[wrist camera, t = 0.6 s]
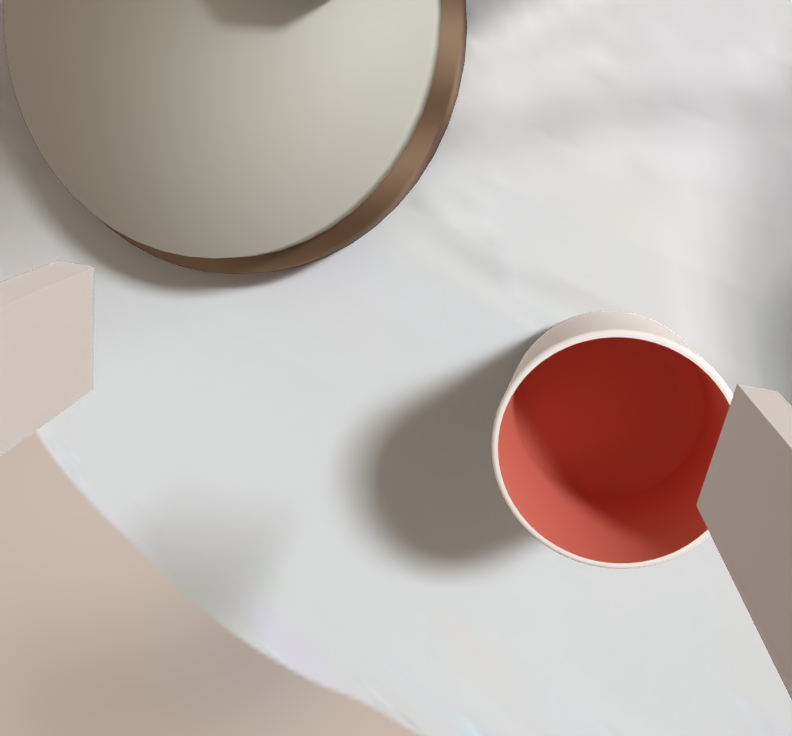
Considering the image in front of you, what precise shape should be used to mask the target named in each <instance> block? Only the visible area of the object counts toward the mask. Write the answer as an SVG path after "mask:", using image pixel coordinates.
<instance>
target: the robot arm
mask: <svg viewBox="0 0 792 736" xmlns="http://www.w3.org/2000/svg"><path fill="white" fill-rule="evenodd" d="M93 339H94V267H93V266H87V265H82V264H76V263H71V262H65V261H60V260H58V261H55V262H53V263H50V264H47V265H45V266H42V267H39V268H37V269H34V270H31V271H29V272H26V273H24V274H21V275H18V276H16V277H13V278H10V279H8V280H5V281H2V282H0V457H1V456H2V455H3V454H5V453H6V452H8V451H9V450H10V449H12V448H13V447H14V446H16V445H17V444H18V443H20V442H21V441H23V440H24V439H25V438H27V437H28V436H29V435H31V434H32V433H34V432H35V431H36V430H38V429H39V428H40V427H42V426H43V425H45V424H46V423H47V422H49V421H50V420H51V419H53V418H54V417H55V416H57V415H58V414H60V413H61V412H62V411H64V410H65V409H66V408H68V407H69V406H71V405H72V404H73V403H75V402H76V401H77V400H79V399H80V398H81V397H83V396H84V395H86V394H87V393H88V392H90V391H91V390H92V389H93ZM696 506H697V508H698V510H699V512H700V514H701V516H702V518H703V520H704V522H705V524H706V526H707V528H708V530H709V532H710V534H711V536H712V538H713V540H714V543H715V545H716V547H717V549H718V551H719V553H720V555H721V557H722V559H723V561H724V563H725V565H726V567H727V569H728V571H729V573H730V575H731V577H732V579H733V581H734V583H735V585H736V587H737V589H738V591H739V593H740V595H741V597H742V599H743V602H744V604H745V606H746V608H747V610H748V612H749V614H750V616H751V618H752V620H753V622H754V624H755V626H756V628H757V630H758V632H759V634H760V636H761V638H762V640H763V642H764V644H765V646H766V648H767V650H768V652H769V654H770V656H771V658H772V661H773V663H774V665H775V667H776V669H777V671H778V673H779V675H780V677H781V679H782V681H783V683H784V685H785V687H786V689H787V691H788V693H789V695H790V697H791V699H792V406H791V405H790V404H789V403H788V402H787V401H786V400H785V399H784V398H783V397H782V396H781V395H780V394H779V393H778V392H777V391H774V390H768V389H763V388H757V387H752V386H746V385H741V384H737V386H736V389H735V392H734V395H733V398H732V401H731V404H730V407H729V410H728V413H727V416H726V419H725V422H724V425H723V428H722V431H721V433H720V436H719V439H718V442H717V445H716V448H715V451H714V454H713V457H712V460H711V463H710V466H709V469H708V472H707V475H706V478H705V481H704V484H703V487H702V489H701V492H700V495H699V498H698V501H697V504H696Z"/></svg>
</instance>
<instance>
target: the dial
mask: <svg viewBox="0 0 792 736" xmlns="http://www.w3.org/2000/svg"><path fill="white" fill-rule="evenodd" d="M3 14H4V39H5V47H6V54H7V61H8V68H9V72H10V76H11V80H12V84H13V88H14V92H15V96H16V99H17V102H18V104H19V107H20V110H21V113H22V115H23V118H24V121H25V123H26V125H27V127H28V130H29V132H30V134H31V136H32V138H33V140H34V142H35V144H36V146H37V148H38V150H39V151H40V153H41V154H42V156H43V157H44V159H45V160H46V162H47V163H48V165H49V167H50V168H51V170H52V171H53V173H54V174H55V175H56V176H57V178H58V179H59V180H60V181H61V182H62V184H63V185H64V186H65V187H66V188H67V190H68V191H69V192H70V193H71V194H72V195H73V196H74V197H75V198H76V199H77V200H78V201H79V202H80V203H81V204H82V205H83V206H84V207H85V208H87V209H88V210H89V211H90V212H91V213H92V214H93V215H95V216H96V217H98V218H99V219H100V220H102V221H103V222H104V223H106V224H107V225H109V226H110V227H111V228H113V229H114V230H116V231H118V232H120V233H122V234H124V235H126V236H127V237H129V238H131V239H133V240H135V241H137V242H139V243H142V244H145V245H147V246H150V247H153V248H155V249H158V250H161V251H165V252H170V253H174V254H179V255H183V256H189V257H202V258H232V257H247V256H258V255H263V254H267V253H272V252H276V251H281V250H284V249H287V248H290V247H292V246H295V245H298V244H300V243H303V242H306V241H308V240H310V239H312V238H314V237H315V236H317V235H319V234H321V233H323V232H325V231H327V230H328V229H330V228H332V227H333V226H335V225H336V224H337V223H339V222H340V221H342V220H343V219H344V218H346V217H347V216H348V215H350V214H351V213H353V212H354V211H355V210H356V209H357V208H358V207H359V206H360V205H361V204H362V203H363V202H364V201H365V200H367V199H368V198H369V197H370V196H371V195H372V194H373V193H374V192H375V191H376V190H377V188H378V187H379V186H380V185H381V183H382V182H383V181H384V180H385V178H386V177H387V176H388V175H389V173H390V172H391V171H392V170H393V169H394V167H395V166H396V164H397V162H398V161H399V159H400V157H401V156H402V154H403V153H404V151H405V149H406V148H407V146H408V144H409V143H410V141H411V139H412V137H413V135H414V132H415V130H416V128H417V126H418V124H419V122H420V119H421V117H422V115H423V113H424V110H425V107H426V103H427V100H428V97H429V94H430V91H431V88H432V85H433V81H434V76H435V71H436V65H437V60H438V55H439V50H440V35H441V20H442V12H441V0H4V3H3Z"/></svg>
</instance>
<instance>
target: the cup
mask: <svg viewBox="0 0 792 736" xmlns="http://www.w3.org/2000/svg"><path fill="white" fill-rule="evenodd" d="M732 398H733V393H732V392H731V390H730V389H729V387H728V386H727V384H726V383H725V381H724V380H723V379H722V378H721V376H720V375H719V374H718V373H717V372H716V371H715V370H714V369H713V368H712V367H711V366H710V365H709V364H708V363H707V362H706V361H705V360H704V359H703V358H702V357H701V356H699V355H698V354H697V353H696V352H695V351H694V350H693V349H692V348H691V347H690V346H689V345H688V344H687V343H685V342H684V341H683V340H682V339H681V338H680V337H679V336H678V335H677V334H675V333H674V332H673V331H671V330H670V329H669V328H667V327H665V326H664V325H662V324H660V323H658V322H656V321H654V320H652V319H650V318H647V317H645V316H641V315H638V314H634V313H630V312H623V311H596V312H589V313H585V314H581V315H578V316H575V317H572V318H569V319H567V320H565V321H563V322H561V323H559V324H557V325H555V326H554V327H552V328H551V329H549V330H548V331H547V332H545V333H544V334H543V335H542V336H540V337H539V338H538V339H537V340H536V341H535V342H534V343H533V344H532V346H531V347H530V348H529V349H528V351H527V352H526V353H525V355H524V356H523V358H522V359H521V361H520V363H519V365H518V367H517V369H516V371H515V373H514V375H513V377H512V379H511V381H510V383H509V385H508V387H507V389H506V391H505V393H504V396H503V398H502V400H501V402H500V404H499V407H498V410H497V412H496V416H495V420H494V424H493V430H492V439H491V455H492V463H493V469H494V473H495V478H496V481H497V484H498V487H499V489H500V491H501V494H502V496H503V498H504V500H505V502H506V504H507V505H508V507H509V508H510V510H511V511H512V513H513V514H514V516H515V517H516V518H517V520H518V521H519V522H520V523H521V524H522V525H523V526H524V528H525V529H526V530H527V531H528V532H529V533H531V534H532V535H533V536H534V537H535V538H536V539H538V540H539V541H540V542H541V543H543V544H544V545H546V546H547V547H549V548H550V549H552V550H554V551H556V552H557V553H559V554H561V555H563V556H566V557H568V558H570V559H573V560H575V561H578V562H581V563H585V564H588V565H593V566H599V567H605V568H616V569H628V568H640V567H647V566H651V565H655V564H659V563H663V562H666V561H668V560H671V559H674V558H676V557H678V556H680V555H682V554H684V553H686V552H688V551H690V550H691V549H693V548H694V547H696V546H698V545H699V544H701V543H702V542H703V541H704V540H705V539H707V538H708V537H709V536H710V535H711V534H710V532H709V530H708V528H707V526H706V524H705V522H704V520H703V518H702V516H701V514H700V512H699V510H698V508H697V506H696V504H697V501H698V498H699V495H700V492H701V489H702V487H703V484H704V481H705V478H706V475H707V472H708V469H709V466H710V463H711V460H712V457H713V454H714V451H715V448H716V445H717V442H718V439H719V436H720V433H721V431H722V428H723V425H724V422H725V419H726V416H727V413H728V410H729V407H730V404H731V401H732Z"/></svg>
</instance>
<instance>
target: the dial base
mask: <svg viewBox="0 0 792 736" xmlns="http://www.w3.org/2000/svg"><path fill="white" fill-rule="evenodd" d="M441 12H442V20H441V35H440V50H439V55H438V60H437V65H436V71H435V76H434V81H433V85H432V88H431V91H430V94H429V97H428V100H427V103H426V107H425V110H424V113H423V115H422V117H421V119H420V122H419V124H418V126H417V128H416V130H415V132H414V135H413V137H412V139H411V141H410V143H409V144H408V146H407V148H406V149H405V151H404V153H403V154H402V156H401V157H400V159H399V161H398V162H397V164H396V166H395V167H394V169H393V170H392V171H391V172H390V173H389V175H388V176H387V177H386V178H385V180H384V181H383V182H382V183H381V185H380V186H379V187H378V188H377V190H376V191H375V192H374V193H373V194H372V195H371V196H370V197H369V198H368V199H367V200H365V201H364V202H363V203H362V204H361V205H360V206H359V207H358V208H357V209H356V210H355V211H354V212H353V213H351V214H350V215H348V216H347V217H346V218H344V219H343V220H342V221H340V222H339V223H337V224H336V225H335V226H333V227H332V228H330V229H328V230H327V231H325V232H323V233H321V234H319V235H317V236H315V237H314V238H312V239H310V240H308V241H306V242H303V243H300V244H298V245H295V246H292V247H290V248H287V249H284V250H281V251H276V252H272V253H267V254H263V255H258V256H247V257H232V258H202V257H189V256H183V255H179V254H174V253H170V252H165V251H161V250H158V249H155V248H153V247H150V246H147V245H145V244H142V243H139V242H137V241H135V240H133V239H131V238H129V237H127V236H126V235H124V234H122V233H120V232H118V231H116V230H114V229H113V228H111V227H110V226H109V225H107V224H106V223H105V224H106V225H107V226H108V227H109V228H110V229H112V230H113V231H115V232H116V233H117V234H119V235H120V236H121V237H123V238H124V239H126V240H127V241H128V242H130V243H131V244H133V245H135V246H137V247H138V248H140V249H142V250H144V251H146V252H148V253H150V254H151V255H153V256H155V257H158V258H161V259H163V260H166V261H168V262H171V263H174V264H176V265H179V266H183V267H187V268H192V269H196V270H201V271H205V272H215V273H227V274H241V273H257V272H269V271H277V270H282V269H287V268H292V267H297V266H301V265H304V264H307V263H310V262H313V261H315V260H318V259H321V258H324V257H326V256H329V255H330V254H332V253H334V252H336V251H338V250H340V249H342V248H344V247H346V246H348V245H349V244H351V243H353V242H354V241H356V240H357V239H359V238H360V237H361V236H363V235H364V234H366V233H367V232H368V231H370V230H371V229H373V228H374V227H375V226H377V225H378V224H379V223H380V222H381V221H382V220H383V219H384V218H385V217H386V216H387V215H388V214H389V213H390V212H392V211H393V210H394V209H395V208H396V207H397V206H398V205H399V204H400V202H401V201H402V200H403V199H404V197H405V196H406V195H407V194H408V193H409V191H410V190H411V189H412V188H413V187H414V185H415V184H416V183H417V182H418V180H419V178H420V177H421V175H422V174H423V172H424V170H425V169H426V167H427V166H428V164H429V163H430V161H431V159H432V158H433V156H434V154H435V152H436V150H437V148H438V146H439V144H440V142H441V139H442V137H443V135H444V133H445V131H446V129H447V127H448V124H449V121H450V118H451V115H452V112H453V109H454V105H455V102H456V99H457V96H458V92H459V87H460V82H461V77H462V72H463V67H464V61H465V48H466V35H467V19H466V0H441Z"/></svg>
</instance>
